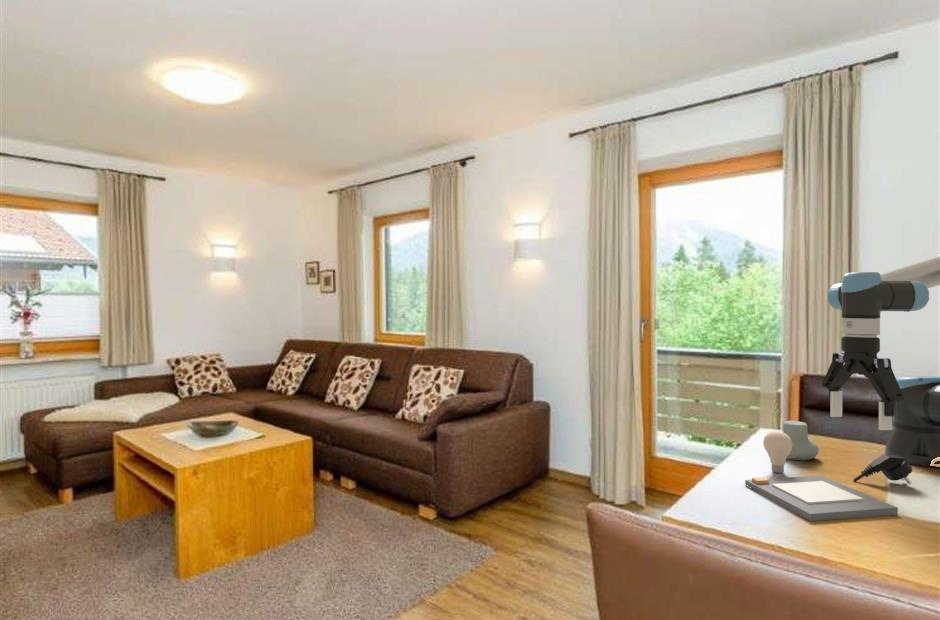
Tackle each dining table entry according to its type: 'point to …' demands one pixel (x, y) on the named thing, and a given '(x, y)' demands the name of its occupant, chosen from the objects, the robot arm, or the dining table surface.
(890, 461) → the power plug
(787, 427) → the air freshener
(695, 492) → the dining table surface
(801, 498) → the socket board
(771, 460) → the light bulb
